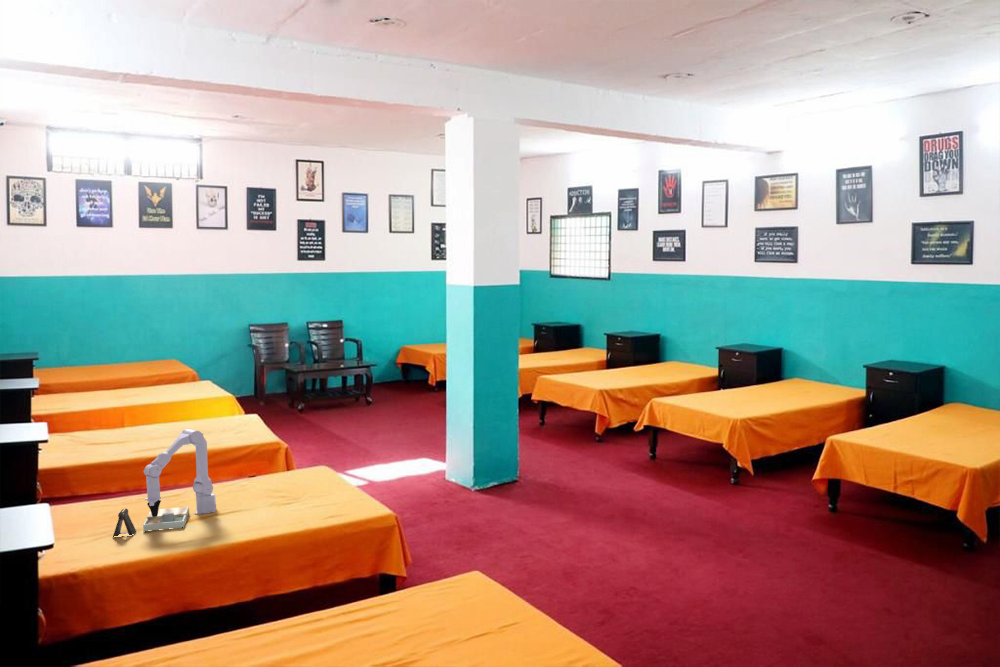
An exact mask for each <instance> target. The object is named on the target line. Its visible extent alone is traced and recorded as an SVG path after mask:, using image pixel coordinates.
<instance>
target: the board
mask: <svg viewBox="0 0 1000 667" xmlns="http://www.w3.org/2000/svg"><path fill="white" fill-rule="evenodd" d="M165 513H174V518H178V517H184V515H186V522H187V521H188V519H189V516H190V506H181V507H169V508H159V509H158V515H157V516H155V517H153V516H152V514H151V510H149V512H148V514H147V516H146V519H148V520H157V519H162V514H165ZM187 518H188V519H187Z"/></svg>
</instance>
